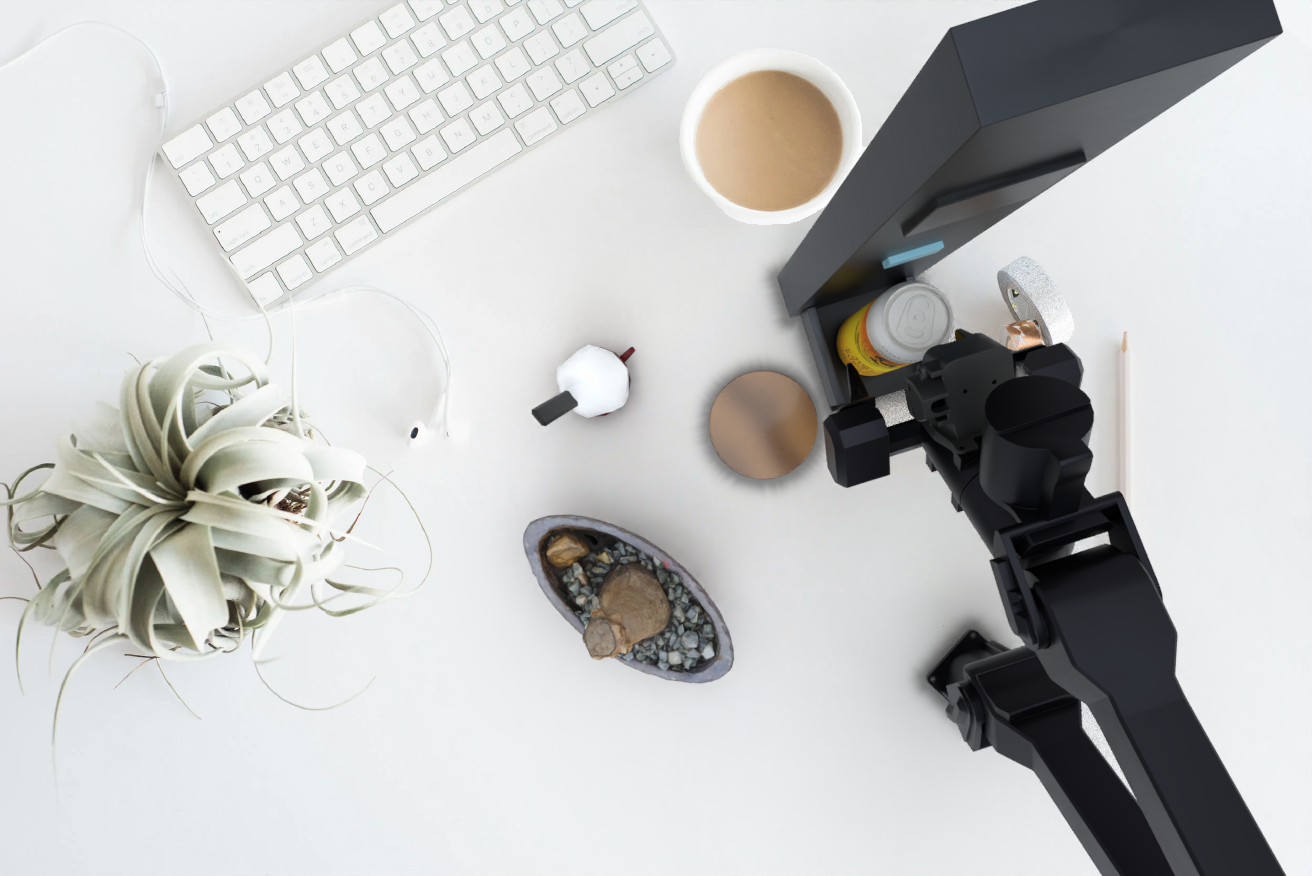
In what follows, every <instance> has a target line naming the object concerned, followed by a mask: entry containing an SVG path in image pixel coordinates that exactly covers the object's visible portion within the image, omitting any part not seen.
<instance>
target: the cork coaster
mask: <svg viewBox="0 0 1312 876" xmlns="http://www.w3.org/2000/svg"><path fill="white" fill-rule="evenodd" d="M708 421H709V422H708V426H709V427H708V430H709V435H710V441H711V443H712V446H713V449H714V450H715V452H716V454H717V455H718V457H719V459H720V460H721V461H722V462H723V463H724V464H725V465H726V466H727V467H728V468H730V469H731V470H733V471H734V472H735V473H738V474H740V475H742V476H745V477H748V478H751V479H757V480H769V479H775V478H779V477H783V476H785V475H787V474H789V473H791V472H793V471H794V470H796V469H797V468H798V467H799V466H800V465H801V464H802V463H803V462H805V460H806V459H807V458H808V456H809V455H810V453H811V451H812V450H813V447H814V445H815V442H816V440H817V434H818V415H817V411H816V407H815V405H814V402H813V401H812V398H811V397H810V395H809V394H808V393H807V391H806V389H804V388H803V387H802V386H801V385H800V384H799V383H798V382H797V381H795V380H794V379H792V378H791V377H789V376H787V375H784V374H782V373H779V372H775V371H770V370H757V371H752V372H747V373H744V374H742V375H740V376H738V377H736V378H734V379H733V380H731V381H730V382H729V383H728V384H727V385H725V387H723V389H722V390H721V391H720V392H719V393H718V395H717V396H716V398H715V400H714V402H713V404H712V407H711V410H710V414H709V420H708Z"/></svg>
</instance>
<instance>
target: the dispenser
mask: <svg viewBox="0 0 1312 876" xmlns="http://www.w3.org/2000/svg"><path fill="white" fill-rule="evenodd" d="M1283 33H1284V30H1283V25H1282V22H1281V20H1280V17H1279V14H1278V10H1277V7H1276V4H1275V1H1274V0H1033V1H1030V2H1026V3H1024V4H1020V5H1017V6H1015V7H1011V8H1007V9H1005V10H1002V11H998V12H995V13H992V14H989V15H985V16H982V17H979V18H975V19H972V20H969V21H966V22H963V23H960V24H956V25H954V26H950V27H949V28H948V30H947V31H946V33H945V34H944V35H943V37H942V38H941V40H940V41H939V43H938V44H937V46H936V47H935V48H934V49H933V52H931V54H930V56H929V57H928V59H927V60H926V61H925V62H924V65H922V67H921V69H920V70H919V71H918V73H917V74H916V76H915V77H914V79H913V80H912V82H911V83H910V85H909V86H908V88H907V89H906V90H905V92H904V93H903V95H902V96H901V98H900V99H899V100H898V102H897V104H896V105H895V106H894V108H893V109H892V110H891V112H890V113H889V115H888V116H887V118H886V119H885V120H884V122H883V124H882V125H881V126H880V128H879V129H878V131H877V132H876V134H875V135H874V136H873V138H872V139H871V141H870V142H869V143H868V146H866V148H865V149H864V151H863V152H862V154H861V156H860V157H859V158H858V159H857V161H856V163H855V164H854V165H853V166H852V168H851V169H850V172H848V174H847V176H846V177H845V178H844V180H843V181H842V183H841V184H840V186H839V187H838V189H837V190H836V191H835V193H834V194H833V195H832V197H831V198H830V200H829V201H828V203H827V205H826V206H825V208H823V210H822V211H821V213H820V215H819V216H818V217H817V219H816V220H815V222H814V223H813V224H812V226H811V227H810V229H809V230H808V231H807V233H806V235H805V236H804V238H803V239H802V240H801V242H800V243H799V245H797V246H798V247H797V248H796V249H795V250H794V252H793V254H792V255H791V256H790V258H789V259H788V261H786V263H785V265H784V266H783V268H782V269H781V271H780V272H779V274H778V275H777V276H776V279H777V282H778V285H779V288H780V291H781V294H782V298H783V300H784V304H785V306H786V307H785V308H786V310H787V313H788V316H789V318H794V317H797V316H800V319H801V321H802V325H803V328H804V331H805V335H806V337H807V340H808V344H809V347H810V350H811V353H812V356H813V359H814V363H815V366H816V370H817V372H818V375H819V379H820V382H821V384H822V388H823V391H824V394H825V397H826V400H827V404H828V407H829V410H830V412H831V413H832V412H833V413H834V412H837V410H838V409H839V408H840V407H841V406H843V405H846V404H849V403H850V394H849V385H848V376H847V366H846V365H845V364H844V363H843V361H842V360H841V358H840V356H839V354H838V350H837V335H838V332H839V329H840V327H841V325H842V324H843V322H844V321H845V320H846V319H847V318H848V317H849V316H851V315H852V314H854V313H855V312H856V311H858V310H859V309H861V308H862V307H864V306H865V305H867V304H868V303H869V302H871V301H872V300H874V299H875V298H877V297H878V296H880V295H881V294H883V293H884V292H885V291H887V290H888V289H890V288H891V287H893V286H895V285H897V284H899V283H902V282H906V281H917V280H916V278H917V277H918V276H920V275H921V274H923V273H924V272H925V271H927V270H929V269H930V268H932V267H933V266H935V265H936V264H938V263H939V262H941V261H943V260H944V259H945V258H947V257H948V256H950V255H951V254H953V253H954V252H956V251H957V250H958V249H960V248H962V247H963V246H965V245H966V244H968V243H970V242H971V241H972V240H973V239H976V238H977V237H979V236H980V235H982V234H983V233H985V232H986V231H988V230H989V229H991V228H992V227H993V226H995V225H996V224H998V223H1000V222H1001V221H1003V220H1004V219H1005V218H1007V217H1009V216H1010V215H1012V214H1013V213H1014V212H1016V211H1018V210H1019V209H1020V208H1023V206H1025V205H1026V204H1028V203H1030V202H1031V201H1032V200H1034V199H1036V198H1037V197H1038V196H1040V195H1041V194H1043V193H1044V192H1046V191H1048V190H1049V189H1051V188H1053V186H1055V185H1057V184H1058V183H1060V182H1061V181H1063V180H1064V179H1065V178H1067V177H1068V176H1069V175H1072V174H1073V173H1075V172H1076V171H1078V170H1079V169H1081V168H1082V167H1084V166H1086V164H1088V163H1090V162H1091V161H1093V160H1094V159H1095V158H1097V157H1098V156H1100V155H1102V154H1103V153H1105V152H1106V151H1108V150H1109V149H1111V148H1113V146H1116V144H1118V143H1120V142H1121V141H1123V140H1124V139H1126V138H1127V137H1129V136H1130V135H1132V134H1133V133H1135V132H1136V131H1138V130H1139V129H1141V128H1142V127H1144V126H1145V125H1147V124H1148V123H1150V122H1151V121H1152V120H1154V119H1156V118H1158V117H1159V116H1161V115H1162V114H1164V113H1165V112H1167V111H1168V110H1169V109H1171V108H1172V107H1173V106H1175V105H1177V104H1178V103H1180V102H1181V101H1183V100H1184V99H1186V98H1188V97H1189V96H1190V95H1192V94H1194V93H1195V92H1196V91H1198V90H1200V89H1201V88H1203V87H1205V85H1207V84H1208V83H1210V82H1211V81H1213V80H1215V79H1216V78H1217V77H1219V76H1221V75H1222V74H1224V73H1225V72H1226V71H1228V70H1230V69H1231V68H1233V67H1234V66H1236V65H1237V64H1238V63H1240V62H1241V61H1243V60H1245V59H1246V58H1248V57H1249V56H1250V55H1252V54H1253V53H1255V52H1256V51H1258V50H1259V49H1261V48H1263V47H1264V46H1266V45H1268V44H1270V42H1271V41H1273V40H1275V39H1277V38H1278V37H1279V36H1281V35H1282V34H1283ZM922 361H923V360H922ZM922 361H919V362H916V363H913V364H910V365H907V366H904V367H901V368H898V369H895V370H892V371H889V372H886V373H883V374H880V375H875V376H865V375H860V376H861V379H862V381H863V383H864V385H865V387H866V389H867V391H868V393H869V396H870V397H871V396H875V398H876V399H878V398H881V397H885V396H887V395H890V394H893V393H897V392H899V391H903V390H904V384H903V382H904V379H905V378H906V377H909V376H912V375H914V374H915V373H916V371H917V368H916V366H917V365H918V364H921V363H922Z"/></svg>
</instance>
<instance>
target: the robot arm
mask: <svg viewBox="0 0 1312 876" xmlns="http://www.w3.org/2000/svg"><path fill="white" fill-rule="evenodd" d="M916 368H917V371H916V373H915V374H914V375H912V376H909V377H906V378H905V379H904V382H903V384H904V389H903V390H904V396H905V403H906V407H907V410H908V412H909V415H910V416H911V417H912V418H911V419H909V420H904V421H902V422H899V423H896V424H892V425H889V426H887V424H886V419H885V417H884V415H883V413H882V412H881V410H880V409H879V407H877V401H876V399H877V398H875V396H871V397H870V396H869V393H868V391H867V389H866V387H865V385H864V383H863V381H862V379H861V376H860V374H859V372H858V370H857V369H856V368H855V367H854V365H853V364H852V363H848V364H847V376H848V385H849V394H850V403H849V404H846V405H843V406H841V407H840V408H839V409H838V410H836V411H835V412H833V413H830V414H829V415H828V416H827V417H826V418H825V419H824V420H823V421H822V426H823V437H824V446H825V448H824V449H825V456H826V457H825V458H826V465H827V470H828V472H829V474H830V476H831V477H832V479H833V482H834V483H836V484H837V485H839V486H841V487H842V488H845V489H849V488H853V487H856V486H858V485H861V484H866V483H868V482H871V481H875V480H877V479H882V478H884V477H888V476H890V475H891V458H892V457H895V456H897V455H900V454H904V453H907V452H911V451H913V450H916V449H920V448H922V449H923V451H924V452H925V464H926V466H927V468H928V469H929V470H930V472H931V473H934V472H938V474H939V475H940V477H941V479H942V480H943V481H944V483H945V485H946V486H947V488H948V489H949V490H950V492H951V493H950V504H951V505H952V507H953V508H954V510H955V511H956V513H957V514H958V513H961V512H964V514H965V516H966V517H967V519H968V520H969V522H970V524H971V525H972V527H973V528H974V529H975V531H976V533H977V534H978V536H979V538H980V539H981V540H982V542H983V543H984V545H985V546H986V548H987V550H988V551H989V553H990V555H991V556H992V557H993V558H990V559H989V560H988V562H989V565H990V568H991V570H992V574H993V578H994V581H995V584H996V587H997V591H998V593H999V597H1000V600H1001V603H1002V606H1003V610H1004V614H1005V617H1006V620H1007V623H1008V625H1009V628H1010V630H1011V632H1012V633H1013V634H1014V635H1015V636H1017V637H1019V638H1020V639H1021V642H1022V643H1023V644H1024V645H1021V646H1018V647H1016V648H1012V649H1011V648H1009V647H1007V646H1005V645H1004V644H1003V643H1000V642H998V641H997V640H995V639H990V640H989V641H988V640H987V639H986V638H985V637H983V635H981V634H980V633H979V631H977V630H975V629H971V628H970V629H968V630H966V632H965V633H964V634H963V636H961V637H960V639H958V641H957V642H956V643H955V644H954V645H953V646H952V647H951V649H950V650H949V651H948V652H947V653H946V654H944V656H943V657H942V659H940V660H939V662H938V663H937V664H936V665H935V666H934V667H932V670H931V671H930V672H928V674H927V675H926V678H925V680H926V682H927V683H928V684H929V686H931V687H932V688H933V689H934V690H935V691H936V692H938V694H940V695H941V697H943V698H944V699H945V700H946V701H948V704H947V706H946V708H945V714H946V717H947V718H948V719H949V720H950V721H951V722H952V723H954V724H956V726H957V728H958V731H959V733H960V735H961V737H962V740H963V742H964V743H966V744H967V746H968V747H969V749H970V750H971V752H973V753H975V752H978V751H982V750H983V749H987V748H990V747H992V748H993V749H994V751H995V752H996V753H998V754H999V755H1001V756H1003V757H1005V758H1007V759H1008V760H1011V761H1013V762H1015V763H1017V764H1019V765H1021V766H1023V767H1025V768H1027V769H1029V770H1031V771H1032V772H1033V773H1034V774H1035V776H1036V777H1037V779H1038V780H1039V782H1040V783H1041V785H1042V786H1043V788H1044V789H1045V791H1046V793H1047V794H1048V796H1049V797H1050V799H1051V801H1052V802H1053V803H1054V805H1055V806H1056V808H1057V809H1058V811H1059V812H1060V814H1061V815H1062V817H1063V818H1064V820H1065V822H1066V824H1067V825H1068V826H1069V828H1070V829H1071V830H1072V831H1071V832H1073V834H1074V836H1075V837H1076V838H1077V840H1078V841H1079V843H1080V845H1081V846H1082V848H1083V849H1084V850H1085V852H1086V854H1087V855H1088V857H1089V859H1090V860H1091V862H1092V863H1093V865H1094V866H1095V868H1096V869H1097V870H1098V872H1099V874H1100V875H1101V876H1287V874H1286V872H1285V870H1284V869H1283V867H1282V865H1281V863H1280V862H1279V860H1278V858H1277V856H1276V855H1275V853H1274V851H1273V850H1272V849H1273V848H1272V847H1271V846H1270V844H1269V842H1268V840H1267V838H1266V836H1265V835H1264V833H1263V832H1262V830H1261V828H1260V826H1259V824H1258V822H1257V821H1256V819H1255V817H1254V815H1253V813H1252V812H1251V810H1250V809H1249V807H1248V805H1247V803H1246V801H1245V800H1244V798H1243V796H1242V794H1241V792H1240V791H1239V788H1238V787H1237V785H1236V783H1235V782H1234V780H1233V778H1232V777H1231V775H1230V773H1229V770H1228V769H1227V767H1226V766H1225V764H1224V762H1223V760H1222V759H1221V757H1220V755H1219V754H1218V751H1217V750H1216V748H1215V746H1214V745H1213V743H1212V741H1211V740H1210V738H1209V736H1208V734H1207V732H1206V730H1205V728H1204V726H1203V725H1202V723H1201V721H1200V719H1199V718H1198V716H1197V714H1196V713H1195V711H1194V709H1193V706H1192V705H1191V703H1190V702H1189V701H1188V698H1187V697H1186V694H1185V692H1184V690H1183V688H1182V685H1181V684H1180V682H1179V679H1178V677H1177V675H1176V669H1177V656H1178V655H1177V654H1178V652H1177V651H1178V639H1179V638H1178V637H1179V635H1178V631H1177V628H1176V626H1175V623H1174V622H1173V620H1172V618H1171V616H1170V613H1169V611H1168V609H1167V607H1166V605H1165V603H1164V596H1163V591H1162V589H1161V585H1160V583H1159V580H1158V578H1157V577H1158V576H1157V575H1156V573H1155V570H1154V568H1153V567H1154V566H1153V565H1152V563H1151V561H1150V558H1149V555H1148V553H1147V551H1146V548H1145V546H1144V543H1143V540H1142V538H1141V535H1140V533H1139V530H1138V528H1137V525H1136V523H1135V521H1134V518H1133V515H1132V513H1131V511H1130V508H1129V506H1128V504H1127V501H1126V499H1125V496H1124V495H1123V493H1122V492H1121V491H1120V490H1116V491H1112V492H1109V493H1106V494H1103V495H1100V496H1096V497H1094V496H1093V495H1092V493H1091V492H1090V491H1089V490H1088V488H1087V487H1086V485H1085V483H1086V478H1087V475H1088V474H1089V473H1090V471H1091V467H1092V465H1093V459H1094V454H1093V451H1092V450H1091V449H1090V447H1089V446H1090V441H1091V436H1092V431H1093V427H1094V422H1095V411H1094V409H1093V406H1092V399H1091V398H1090V397H1089V396H1088V394H1087V393H1086V392H1085V391H1083V389H1081V388H1082V383H1083V377H1084V372H1085V369H1084V366H1083V362H1082V359H1081V358H1080V357H1079V356H1078V354H1077V353H1076V352H1074V350H1073V349H1072V348H1071V347H1070V346H1069V345H1068V344H1065V343H1064V342H1062V341H1061V342H1058V343H1055V344H1054V343H1053V344H1051V345H1048V346H1047V345H1046V344H1043V343H1038V344H1035V345H1032V346H1029V347H1025V348H1022V349H1017V350H1014V349H1011V348H1008V347H1007V346H1006V345H1003V344H1002V343H1000V342H998V341H997V340H995V339H994V338H992V337H989V336H988V335H986V334H985V333H983V332H975V333H973V332H970V331H968V330H965V329H963V328H956V329H955V331H954V340H953V341H948V343H946V344H939V345H936V346H933V347H931V348H930V349H928V350H927V351H926V353H925V354H924V356H923V361H922V363H921V364H918V365H917V366H916ZM1104 533H1107V536H1108V540H1109V543H1106V542H1105V543H1101V544H1099V545H1096V546H1093V547H1090V548H1087V549H1084V550H1081V551H1078V552H1075V553H1074V549H1075V545H1076V543H1077V542H1080V541H1083V540H1086V539H1089V538H1092V537H1097V536H1098V535H1101V534H1104ZM972 634H973V636H971V635H972ZM931 678H933V680H931ZM1082 703H1083V704H1085V705H1086V707H1087V708H1088V709H1089V711H1090V713H1091V715H1092V717H1093V718H1094V720H1095V722H1096V723H1097V725H1098V727H1099V729H1100V731H1101V733H1102V734H1103V737H1104V739H1105V741H1106V742H1107V743H1106V744H1107V745H1108V746H1109V749H1110V751H1111V752H1112V754H1113V757H1114V759H1115V761H1116V762H1117V764H1118V767H1119V769H1120V770H1121V772H1122V775H1123V776H1124V778H1125V780H1126V782H1127V784H1128V786H1129V788H1130V789H1129V788H1128V787H1127V786H1126V784H1125V782H1124V781H1123V780H1122V778H1121V777H1120V776H1119V775H1118V773H1117V772H1116V771H1115V770H1114V768H1113V767H1112V765H1111V764H1110V762H1109V761H1108V760H1107V759H1106V758H1105V756H1104V755H1103V753H1102V752H1101V751H1100V749H1099V748H1098V746H1097V745H1096V744H1095V743H1094V741H1093V740H1092V738H1091V737H1090V736H1089V735H1088V733H1087V732H1086V730H1085V729H1084V727H1083V712H1082V710H1083V709H1082ZM1130 790H1131V791H1130Z"/></svg>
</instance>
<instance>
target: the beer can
mask: <svg viewBox="0 0 1312 876" xmlns="http://www.w3.org/2000/svg"><path fill="white" fill-rule="evenodd" d="M954 320H955V317H954V310H953V307H952V303H951V302H950V300H949V299H948V297H947V296H946V295H945V294H944V293H943V292H942V291H941V290H940V289H939V288H937V287H936V286H935V285H932V284H930V283H928V282H925V281H920V280H916V281H906V282H902V283H899V284H897V285H895V286H893V287H891V288H890V289H888V290H887V291H885V292H884V293H883V294H881V295H880V296H878V297H877V298H875V299H874V300H872V301H871V302H869V303H868V304H867V305H865V306H864V307H862V308H861V309H859V310H858V311H856V312H855V313H854V314H852V315H851V316H849V317H848V318H847V319H846V320H845V321H844V322H843V324H842V325H841V327H840V329H839V332H838V335H837V350H838V354H839V356H840V358H841V360H842V361H843V363H844V364H845V365H846V366H847V364H848V363H852V364H853V365H854V367H855V368H856V369H857V370H858V372H859V374H860V375H865V376H875V375H880V374H883V373H886V372H889V371H892V370H895V369H898V368H901V367H904V366H907V365H910V364H913V363H916V362H919V361H922V360H923V356H924V354H925V353H926V351H927V350H928V349H930V348H931V347H933V346H936V345H939V344H946V343H949V342H950V339H951V337H952V334H953V331H954V325H955V321H954Z"/></svg>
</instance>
